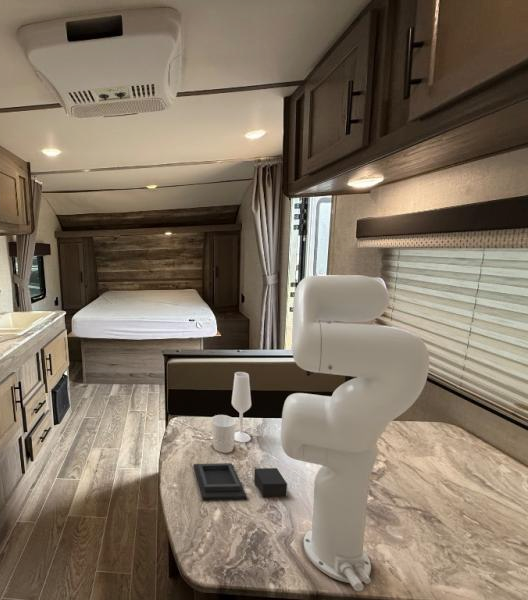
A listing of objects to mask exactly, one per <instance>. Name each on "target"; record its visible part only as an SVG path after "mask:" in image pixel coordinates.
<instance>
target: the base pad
mask: <svg viewBox="0 0 528 600" xmlns="http://www.w3.org/2000/svg"><path fill="white" fill-rule="evenodd" d="M193 470H194V473H195V477H196V481H197V484H198V487H199V488H198V489H199V491H200V495H201V499H202V501H227V500H228V501H229V500H234V501H235V500H247V494H246V492H245V490H244V487H243V485H242V484H241V480H240V479H239V476H238V474H237V472H236V470H235V468H234V465H233V463H232V462H231V463H230V462H227V463H226V462H222V463H221V462H220V463H218V462H217V463H193Z"/></svg>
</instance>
